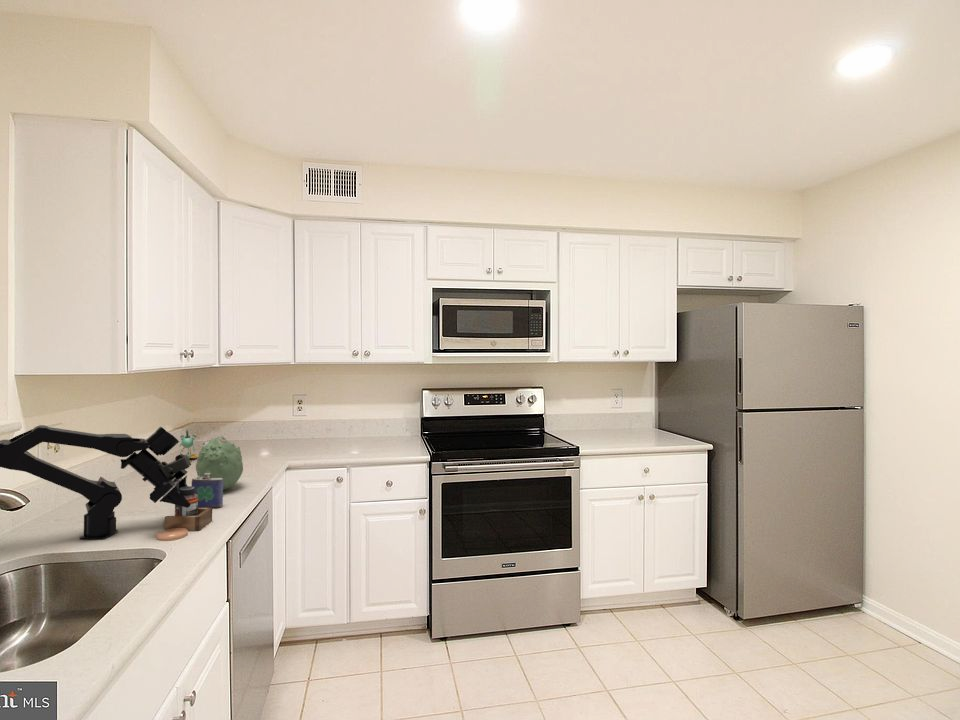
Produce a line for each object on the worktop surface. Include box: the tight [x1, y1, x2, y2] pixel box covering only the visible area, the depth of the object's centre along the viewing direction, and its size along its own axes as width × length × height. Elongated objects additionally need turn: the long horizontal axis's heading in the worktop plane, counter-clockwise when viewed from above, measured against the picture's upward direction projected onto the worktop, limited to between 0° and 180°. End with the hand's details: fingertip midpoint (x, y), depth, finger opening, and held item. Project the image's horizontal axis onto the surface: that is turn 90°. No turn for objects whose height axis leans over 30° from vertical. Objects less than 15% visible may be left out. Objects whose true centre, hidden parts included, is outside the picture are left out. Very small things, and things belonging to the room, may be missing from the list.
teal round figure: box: [179, 429, 199, 463], centre depth 244 cm, size 10×18×15 cm, turn 17°
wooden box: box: [163, 508, 213, 532], centre depth 155 cm, size 10×9×4 cm
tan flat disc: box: [155, 528, 189, 542], centre depth 147 cm, size 8×8×1 cm
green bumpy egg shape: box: [195, 435, 244, 491], centre depth 193 cm, size 16×19×20 cm
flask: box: [191, 473, 224, 510], centre depth 173 cm, size 10×3×12 cm, turn 95°
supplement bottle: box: [174, 485, 198, 516], centre depth 155 cm, size 6×6×11 cm
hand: (191, 503), depth 156 cm, fingers closed on supplement bottle, 6 cm apart
